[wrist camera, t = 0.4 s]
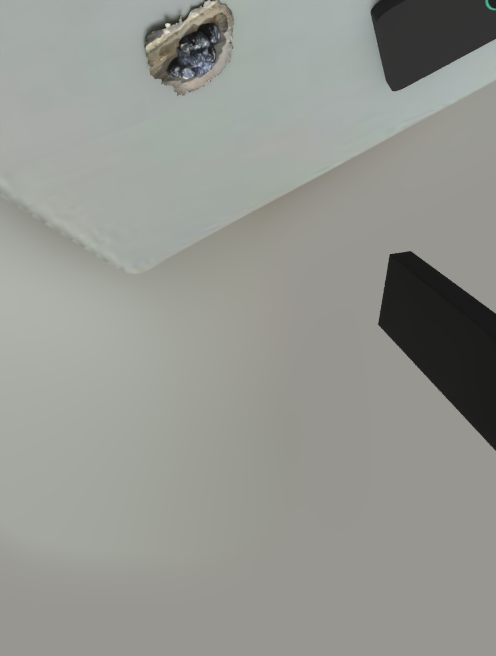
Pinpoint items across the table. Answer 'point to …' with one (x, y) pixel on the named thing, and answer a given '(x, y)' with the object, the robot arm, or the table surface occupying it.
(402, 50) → the smart home device
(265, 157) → the table surface
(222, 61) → the geode half
